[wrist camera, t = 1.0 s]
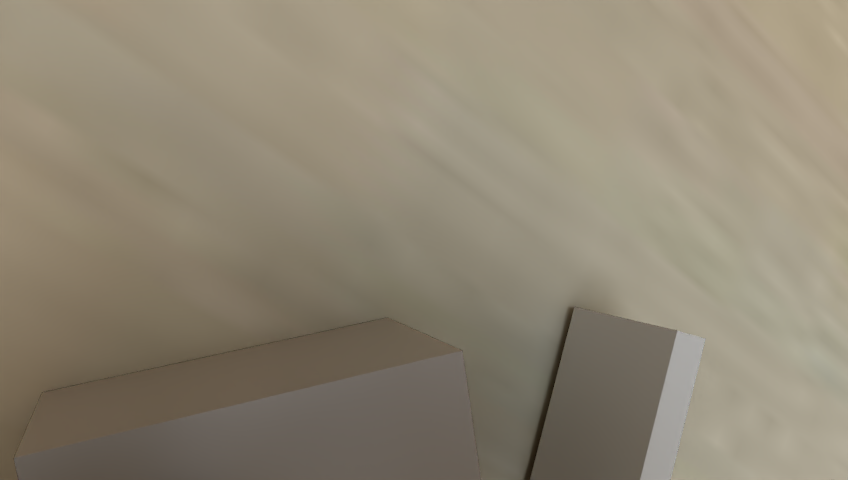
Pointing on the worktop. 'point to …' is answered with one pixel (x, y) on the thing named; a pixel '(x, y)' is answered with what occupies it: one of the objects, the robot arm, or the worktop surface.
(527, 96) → the worktop surface
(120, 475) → the box
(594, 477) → the camera door
